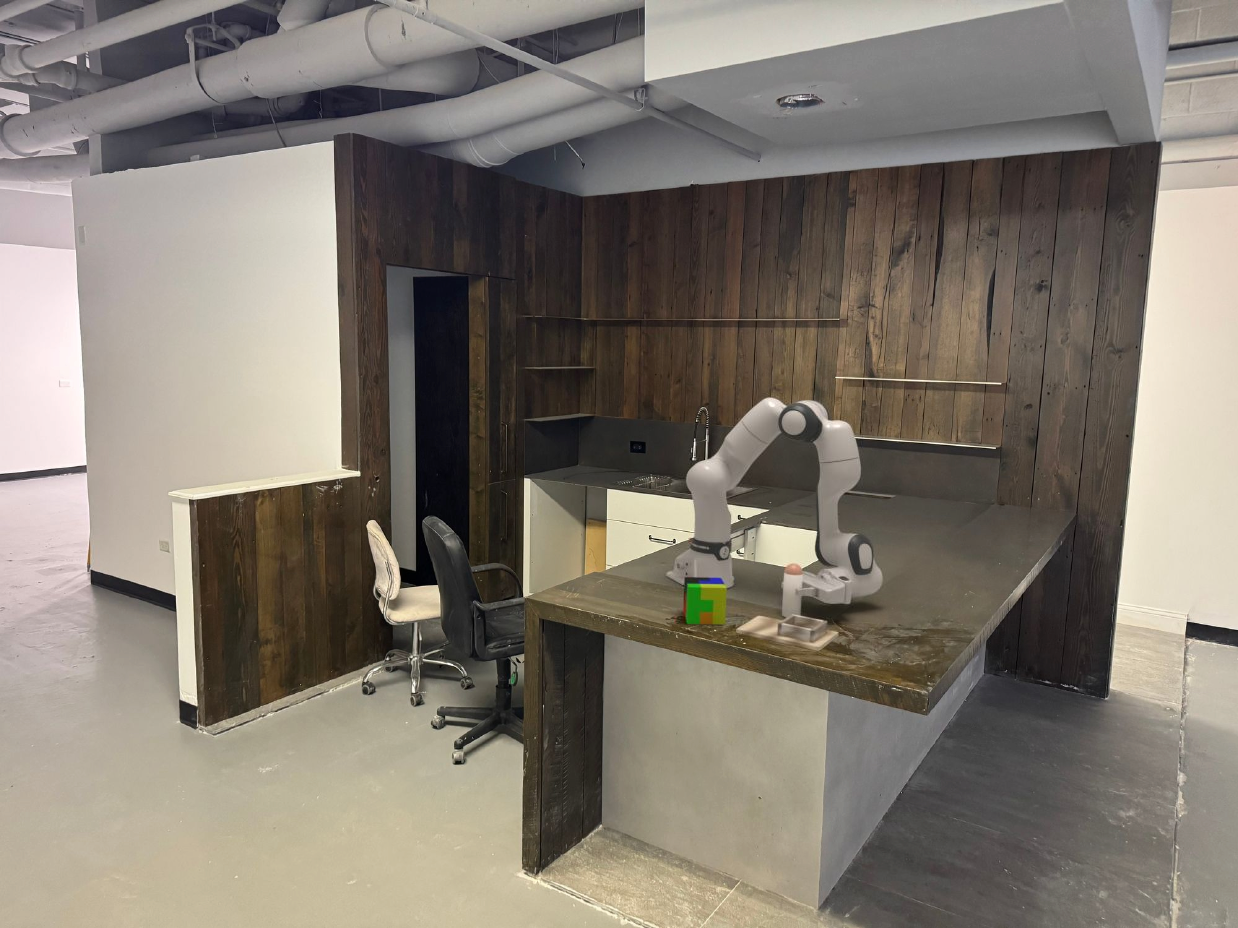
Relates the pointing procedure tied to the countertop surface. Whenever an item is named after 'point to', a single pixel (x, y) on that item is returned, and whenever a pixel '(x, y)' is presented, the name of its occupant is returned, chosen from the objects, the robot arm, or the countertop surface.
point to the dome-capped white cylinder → (792, 590)
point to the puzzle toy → (704, 600)
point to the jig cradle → (790, 631)
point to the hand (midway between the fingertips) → (789, 588)
